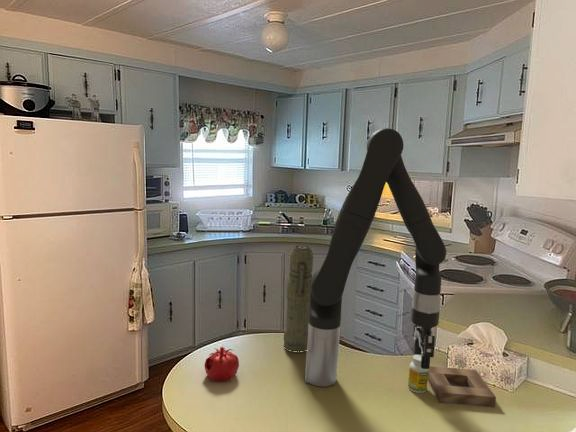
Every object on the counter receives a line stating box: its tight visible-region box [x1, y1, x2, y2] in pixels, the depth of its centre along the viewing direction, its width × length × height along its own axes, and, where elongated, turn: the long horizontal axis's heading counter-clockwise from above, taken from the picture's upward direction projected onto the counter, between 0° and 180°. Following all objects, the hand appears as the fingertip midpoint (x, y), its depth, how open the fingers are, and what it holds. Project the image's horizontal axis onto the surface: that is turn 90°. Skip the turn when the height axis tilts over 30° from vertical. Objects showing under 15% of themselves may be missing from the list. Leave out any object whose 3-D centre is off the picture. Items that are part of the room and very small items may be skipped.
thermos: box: [283, 245, 314, 352], centre depth 146 cm, size 9×12×35 cm
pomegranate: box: [204, 346, 240, 383], centre depth 127 cm, size 10×10×9 cm
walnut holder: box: [427, 365, 497, 408], centre depth 127 cm, size 15×15×3 cm
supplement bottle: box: [407, 354, 429, 394], centre depth 126 cm, size 5×5×10 cm
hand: (421, 361), depth 125 cm, fingers open, 8 cm apart
